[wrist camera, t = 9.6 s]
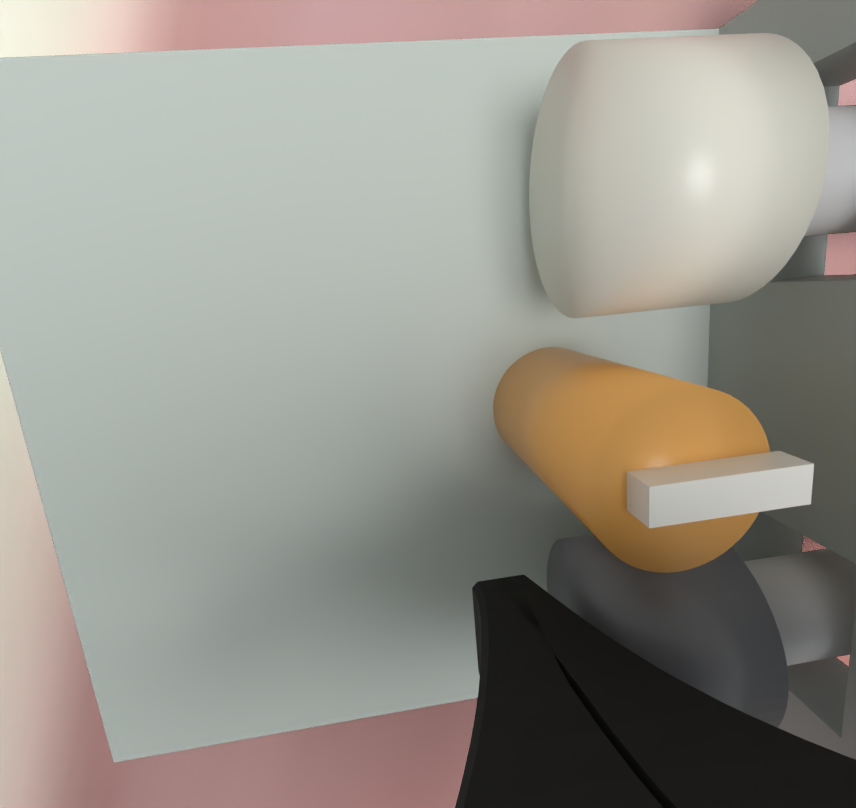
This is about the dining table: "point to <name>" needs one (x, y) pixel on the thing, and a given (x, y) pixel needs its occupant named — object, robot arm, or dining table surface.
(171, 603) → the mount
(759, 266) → the ivory knob
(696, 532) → the dial
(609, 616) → the charcoal knob
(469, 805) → the robot arm
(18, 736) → the dining table surface
